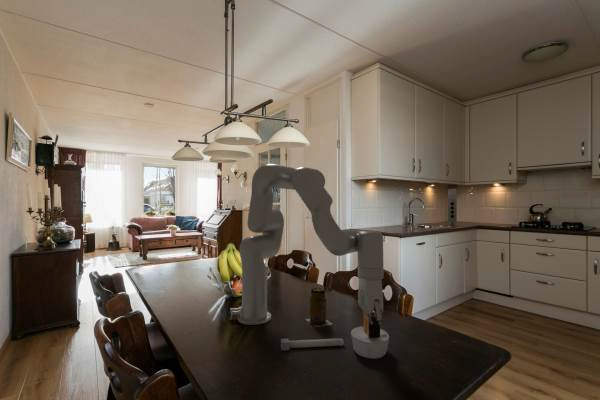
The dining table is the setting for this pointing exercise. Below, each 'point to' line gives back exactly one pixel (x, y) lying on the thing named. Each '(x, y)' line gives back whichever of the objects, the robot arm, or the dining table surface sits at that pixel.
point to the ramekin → (369, 343)
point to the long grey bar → (310, 343)
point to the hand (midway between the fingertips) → (371, 332)
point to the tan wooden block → (367, 323)
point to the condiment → (318, 308)
